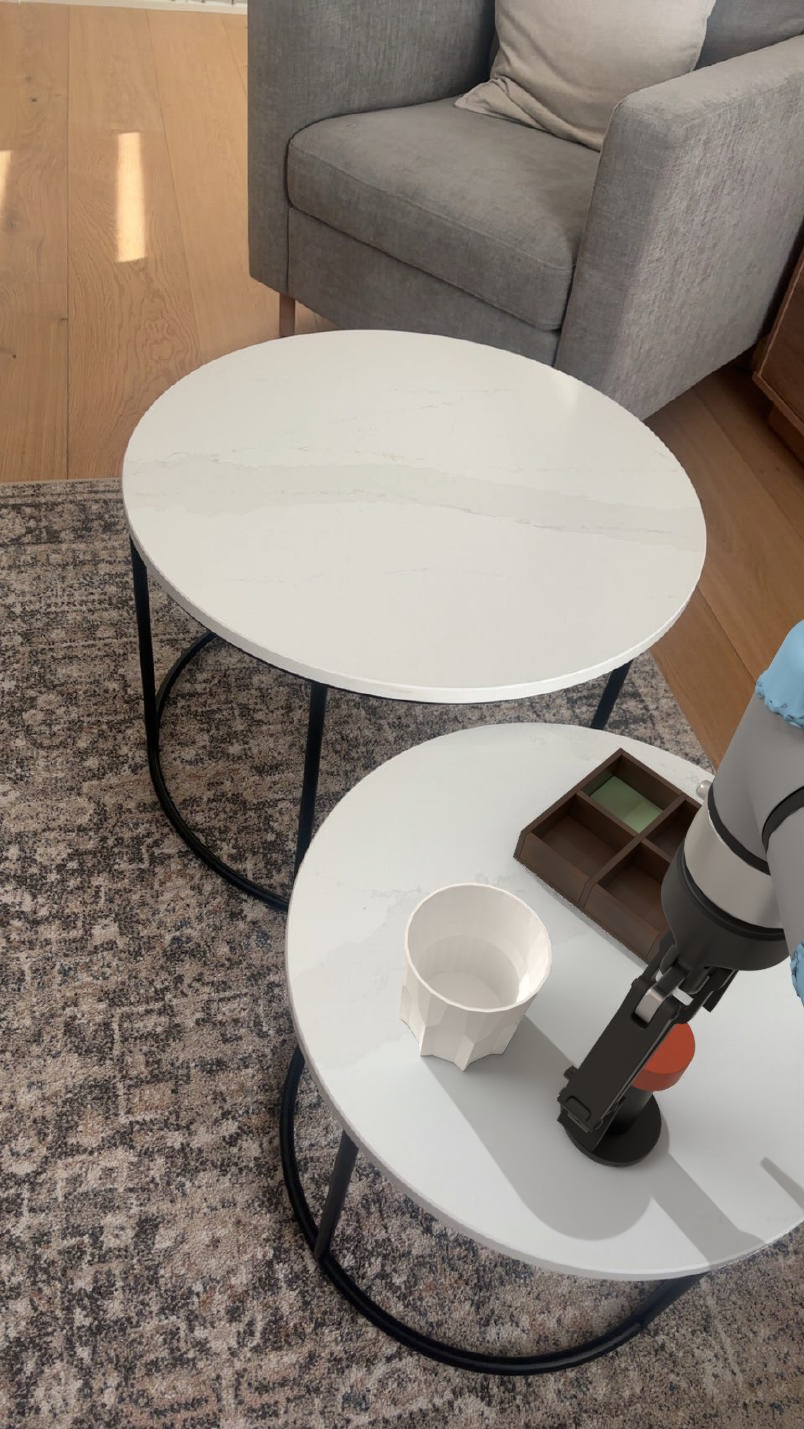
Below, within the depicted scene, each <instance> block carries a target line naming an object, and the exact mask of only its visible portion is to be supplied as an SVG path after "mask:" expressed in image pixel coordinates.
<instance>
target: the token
mask: <svg viewBox="0 0 804 1429" xmlns="http://www.w3.org/2000/svg"><path fill="white" fill-rule="evenodd" d="M695 1053H696V1040H695V1035H694V1031H693V1029H692V1028H691V1025H690V1024H689V1022H687V1023H686V1024H676V1025H675V1027H674V1028H673V1029H672V1031H671V1032H670V1033H669V1035H668V1036H667V1037H666V1039H665V1040H664V1041H663V1043H662V1044H661V1045H660V1047H659V1048H658V1049H657V1051H656V1052H655V1053H654V1055H653V1056H652V1057H651V1059H650V1060H649V1061H648V1063H647V1064H646V1065H645V1067H644V1068H643V1069H642V1071H641V1072H640V1073H639V1075H638V1076H637V1077H636V1079H635V1080H634V1081H633V1083H632V1084H631V1085H633V1086H634V1087H637V1088H639V1089H642V1090H646V1091H654V1092H661V1091H666V1090H669V1089H670V1088H672V1087H674V1086H675V1085H676V1084H677V1083H678V1082H679V1081H680V1080H681V1078H682V1076H683V1075H684V1073H685V1072H686V1071H687V1069H688V1068H689V1066H690V1064H691V1063H692V1061H693V1059H694V1057H695Z"/></svg>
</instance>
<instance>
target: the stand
mask: <svg viewBox="0 0 804 1429" xmlns="http://www.w3.org/2000/svg"><path fill="white" fill-rule="evenodd" d="M654 1092H655V1091H646V1090H642V1089H639V1088H637V1087H634V1086H633V1085H630V1087H629V1088H628V1089H627V1091H626V1092H625V1093H624V1095H623V1096H625V1097H626V1099H625V1101H624V1102H623V1104H622V1105H621V1107H620V1109H619V1110H618V1112H617V1114H616V1115H615V1117H614V1119H613V1120H612V1122H611V1124H610V1125H609V1127H608V1129H607V1130H606V1132H605V1134H604V1135H603V1137H602V1139H601V1140H600V1142H599V1144H598V1145H597V1146H596V1147H595V1148H594V1149H593V1151H592V1152H591V1151H590V1150H589V1149H587V1148H586V1147H585V1146H584V1145H583V1144H582V1143H581V1142H580V1141H579V1140H578V1139H577V1138H575V1137H574V1136H573V1135H572V1134H571V1133H570V1132H569V1131H568V1130H567V1129H566V1128H565V1127H563V1129H564V1132H565V1133H566V1135H567V1137H568V1139H569V1140H570V1142H571V1143H572V1144H573V1145H574V1146H575V1148H576V1149H577V1150H578V1151H579V1152H580V1153H582V1154H583V1156H585V1157H587V1158H588V1159H590V1160H592V1161H594V1162H596V1163H598V1164H601V1165H603V1166H608V1167H613V1168H614V1167H616V1168H623V1167H628V1166H633V1165H635V1164H638V1163H639V1162H642V1161H643V1160H644V1159H645V1158H646V1157H648V1156H649V1155H650V1153H651V1152H652V1151H653V1149H654V1148H655V1146H656V1145H657V1144H658V1142H659V1139H660V1136H661V1132H662V1126H663V1124H662V1115H661V1114H662V1113H661V1109H660V1106H659V1104H658V1101H657V1098H656V1097H655V1096H654ZM562 1109H563V1106H562V1105H561V1104H560V1109H559V1110H560V1113H561V1111H562Z"/></svg>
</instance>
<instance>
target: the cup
mask: <svg viewBox="0 0 804 1429" xmlns="http://www.w3.org/2000/svg"><path fill="white" fill-rule="evenodd" d="M403 941H404V945H403V947H404V948H403V960H402V961H403V962H402V963H403V965H402V980H401V981H402V984H401V993H400V994H401V995H400V1003H399V1004H400V1005H399V1017H398V1018H399V1019H400V1020H401V1021H403V1022H404V1023H406V1024H407V1025H408V1026H409V1028H410V1029H411V1032H412V1033H413V1036H414V1038H415V1039H416V1041H417V1043H418V1047H419V1056H420V1057H422V1056H434V1057H436V1058H439V1059H441V1060H445V1061H447V1062H450V1063H453V1064H455V1066H457V1067H458V1068H459V1069H460V1071H462V1072H464V1071H465V1070H466V1069H467V1068H468V1067H469V1065H470V1064H471V1063H473V1062H475V1061H478V1060H479V1059H483V1058H485V1057H487V1056H489V1055H504V1052H505V1050H506V1049H507V1047H508V1045H509V1043H510V1041H511V1039H512V1038H513V1036H514V1034H515V1032H516V1031H517V1029H518V1027H519V1025H520V1023H521V1022H522V1020H523V1018H524V1016H525V1015H526V1013H527V1012H528V1010H529V1008H530V1006H531V1004H532V1003H533V1001H534V1000H535V998H536V997H537V996H538V993H539V992H540V991H541V989H542V987H543V986H544V984H545V982H546V980H547V979H548V977H549V974H550V969H551V967H552V963H553V962H552V961H553V954H552V953H553V952H552V942H551V940H550V937H549V934H548V931H547V927H546V926H545V924H544V923H543V922H542V920H541V919H540V917H539V915H538V914H537V912H536V911H535V910H533V909H532V907H530V906H529V905H528V904H527V903H526V902H525V901H524V900H523V899H521V898H520V897H518V896H516V895H514V894H512V893H511V892H509V891H508V890H506V889H503V888H500V887H497V886H494V885H491V884H488V883H480V882H470V881H469V882H460V883H452V884H449V885H446V886H443V887H441V888H438V889H435V890H433V891H432V892H431V893H429V894H428V895H426V896H425V897H423V898H422V899H421V900H420V901H419V902H418V904H417V905H416V906H415V907H414V908H413V910H412V911H411V913H410V915H409V917H408V920H407V922H406V925H405V928H404V940H403Z"/></svg>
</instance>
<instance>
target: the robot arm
mask: <svg viewBox="0 0 804 1429" xmlns="http://www.w3.org/2000/svg"><path fill="white" fill-rule="evenodd" d="M725 751H726V752H725V753H724V756H723V758H722V759H721V762H720V764H719V766H718V767H717V771H716V774H715V776H714V778H713V780H712V781H710V780H708V779H704V780H702V781H701V782H700V783H699V784H698V785H696V788H695V794H696V796H697V797H698V798H700V799H701V800H702V804H701V805H702V807H701V808H700V809H699V811H698V812H697V814H696V816H695V818H694V820H693V822H692V824H691V826H690V828H689V830H688V832H687V835H686V836H685V838H684V839H683V840H682V842H681V844H680V846H679V848H678V850H677V852H676V854H675V856H674V858H673V860H672V862H671V864H670V866H669V868H668V870H667V872H666V874H665V876H664V879H663V882H662V888H661V901H662V907H663V911H664V914H665V916H666V919H667V921H668V923H669V926H670V929H669V930H668V931H667V933H666V934H665V935H664V937H663V938H662V939H661V941H660V943H659V951H658V953H657V954H656V956H655V957H654V958H653V960H652V961H651V962H650V964H649V965H648V964H647V967H646V968H645V969H644V970H643V972H642V973H641V974H640V975H639V976H638V977H635V978H634V979H633V980H632V982H631V983H630V986H631V987H630V988H629V990H628V992H627V994H626V996H625V997H624V999H623V1000H622V1002H621V1004H620V1006H619V1008H618V1009H617V1010H616V1012H615V1013H614V1015H613V1016H612V1018H611V1020H609V1022H608V1024H606V1027H605V1028H604V1029H603V1031H602V1032H601V1034H600V1035H599V1037H598V1038H597V1040H596V1042H595V1043H594V1044H593V1046H592V1047H591V1049H590V1050H589V1052H588V1053H587V1055H586V1056H585V1058H583V1060H582V1062H581V1063H580V1065H579V1067H578V1068H577V1067H576V1066H575V1065H573V1064H572V1065H571V1066H569V1067H568V1068H566V1069H565V1071H564V1072H563V1074H562V1076H563V1077H564V1079H566V1080H567V1081H568V1082H567V1084H566V1085H565V1086H563V1088H561V1090H560V1091H559V1093H558V1096H557V1097H556V1102H557V1103H558V1104H559V1105H560V1106H561V1105H562V1106H563V1109H562V1111H561V1112H560V1113H559V1115H558V1117H557V1118H556V1121H557V1122H558V1123H559V1124H560V1125H561V1126H562V1127H563V1128H564V1127H565V1128H566V1129H567V1130H568V1131H569V1132H570V1133H571V1134H572V1135H573V1136H574V1137H575V1138H577V1139H578V1140H579V1141H580V1142H581V1143H582V1144H583V1145H584V1146H585V1147H586V1148H587V1149H589V1150H590V1151H591V1152H592V1151H593V1149H594V1148H595V1147H596V1146H597V1145H598V1144H599V1142H600V1140H601V1139H602V1137H603V1135H604V1134H605V1132H606V1130H607V1129H608V1127H609V1125H610V1124H611V1122H612V1120H613V1119H614V1117H615V1115H616V1114H617V1112H618V1110H619V1109H620V1107H621V1105H622V1104H623V1102H624V1101H625V1099H626V1097H625V1096H623V1095H624V1093H625V1092H626V1091H627V1089H628V1088H629V1087H630V1085H631V1084H632V1083H633V1081H634V1080H635V1079H636V1077H637V1076H638V1075H639V1073H640V1072H641V1071H642V1069H643V1068H644V1067H645V1065H646V1064H647V1063H648V1061H649V1060H650V1059H651V1057H652V1056H653V1055H654V1053H655V1052H656V1051H657V1049H658V1048H659V1047H660V1045H661V1044H662V1043H663V1041H664V1040H665V1039H666V1037H667V1036H668V1035H669V1033H670V1032H671V1031H672V1029H673V1028H674V1027H675V1025H676V1024H686V1023H689V1022H690V1021H691V1020H693V1019H694V1018H695V1017H696V1015H697V1014H698V1012H699V1011H700V1010H701V1009H702V1008H703V1009H705V1010H706V1011H707V1012H708V1013H712V1012H713V1010H714V1009H715V1008H716V1007H717V1005H718V1004H719V1003H720V1001H721V999H722V998H723V996H724V995H725V993H726V991H727V990H728V988H729V987H730V986H731V984H732V982H733V981H734V980H735V978H736V976H737V975H738V973H739V972H756V971H763V970H767V969H771V968H773V967H775V966H777V965H779V964H781V963H783V962H784V961H786V960H787V959H788V958H790V963H789V967H790V973H791V981H792V982H791V983H792V987H793V988H794V991H795V993H796V996H797V997H798V998H799V999H800V1002H801V1004H802V1007H803V1008H804V619H802V620H800V621H799V622H798V623H796V624H795V625H794V626H793V627H792V628H791V629H790V631H789V632H788V633H787V635H786V637H785V638H784V640H783V642H782V643H781V645H780V647H779V649H778V650H777V652H776V654H775V656H774V658H773V660H772V661H771V663H770V664H769V666H768V668H767V669H766V670H764V671H763V672H762V673H761V674H759V677H758V678H757V681H756V683H755V687H754V692H753V693H752V695H751V698H750V700H749V702H748V704H747V706H746V708H745V711H744V713H743V714H742V717H741V718H740V721H739V724H738V725H737V728H736V730H735V731H734V734H733V736H732V738H731V740H730V743H729V744H728V747H727V749H726V750H725ZM659 972H660V973H661V975H662V976H660V978H659V979H658V980H657V975H658V974H659ZM678 990H680V991H681V992H682V993H685V994H686V995H687V996H688V997H689V998H691V999H692V1000H691V1001H690V1002H689V1004H685V1003H684V1002H683V1001H681V1000H680V999H679V998H678V997H676V996H675V994H676V992H677V991H678Z"/></svg>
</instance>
